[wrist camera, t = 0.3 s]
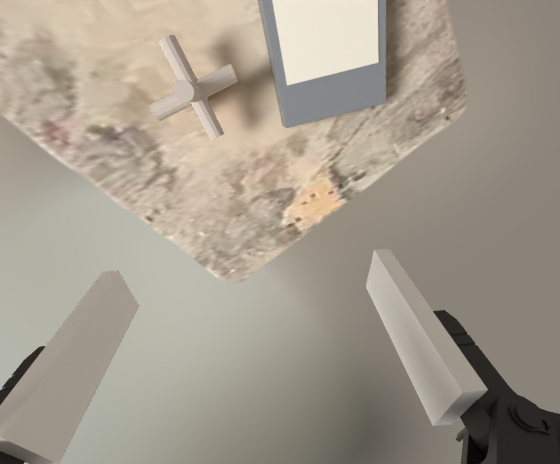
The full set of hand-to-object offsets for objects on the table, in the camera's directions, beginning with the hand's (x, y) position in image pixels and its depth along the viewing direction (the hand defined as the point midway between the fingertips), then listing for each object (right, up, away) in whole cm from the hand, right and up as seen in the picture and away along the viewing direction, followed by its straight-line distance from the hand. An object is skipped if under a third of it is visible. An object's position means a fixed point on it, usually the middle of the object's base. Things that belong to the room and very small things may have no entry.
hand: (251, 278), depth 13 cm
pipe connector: (-9, +20, +18) cm, 29 cm away
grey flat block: (+6, +28, +16) cm, 33 cm away
